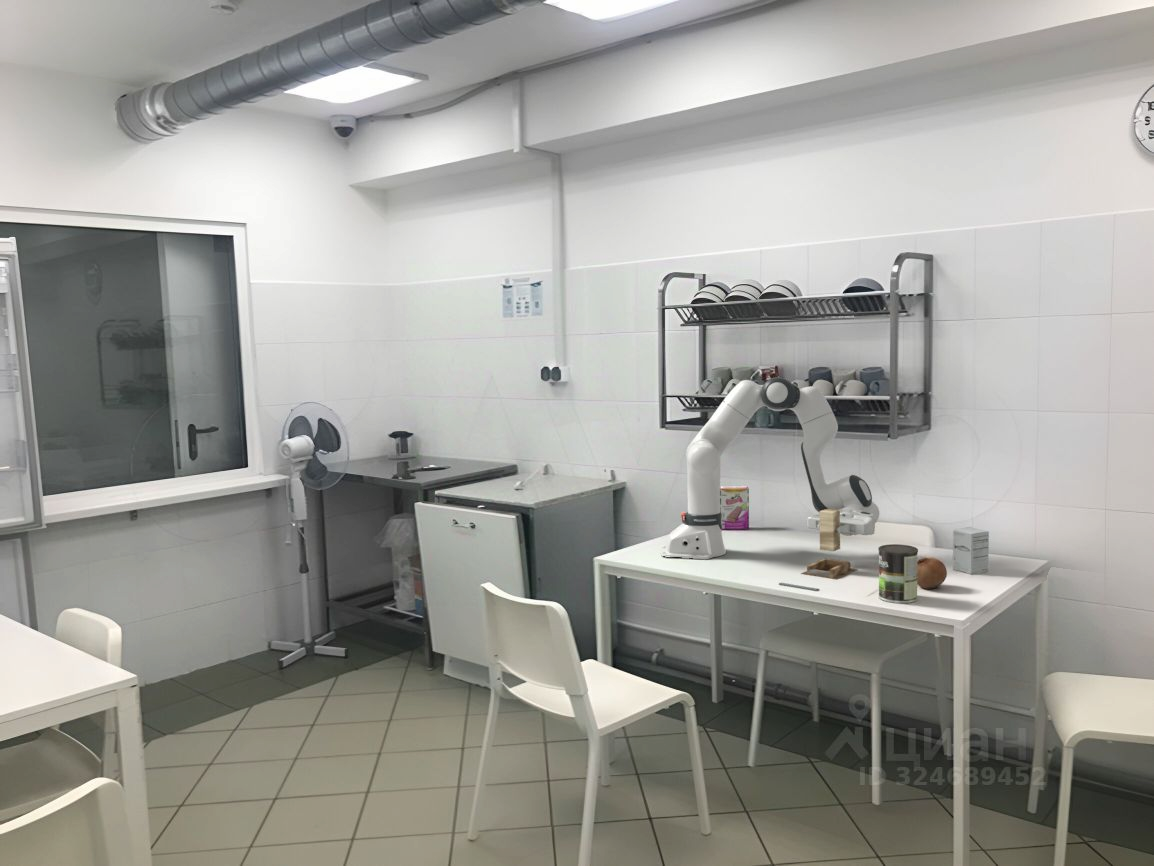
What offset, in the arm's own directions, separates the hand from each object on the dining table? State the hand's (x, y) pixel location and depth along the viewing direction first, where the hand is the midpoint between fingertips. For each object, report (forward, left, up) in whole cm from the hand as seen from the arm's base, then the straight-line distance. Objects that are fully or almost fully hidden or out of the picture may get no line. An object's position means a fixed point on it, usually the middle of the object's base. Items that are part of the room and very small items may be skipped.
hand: (828, 528), depth 276 cm
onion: (+26, -16, -14) cm, 33 cm away
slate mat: (-8, -12, -14) cm, 20 cm away
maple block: (+1, +1, -6) cm, 7 cm away
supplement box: (+43, +3, -14) cm, 45 cm away
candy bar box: (-25, +68, -14) cm, 74 cm away
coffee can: (+15, -27, -14) cm, 34 cm away
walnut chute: (+1, +1, -14) cm, 14 cm away
